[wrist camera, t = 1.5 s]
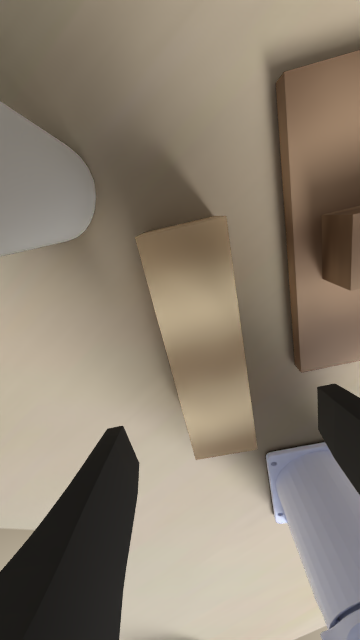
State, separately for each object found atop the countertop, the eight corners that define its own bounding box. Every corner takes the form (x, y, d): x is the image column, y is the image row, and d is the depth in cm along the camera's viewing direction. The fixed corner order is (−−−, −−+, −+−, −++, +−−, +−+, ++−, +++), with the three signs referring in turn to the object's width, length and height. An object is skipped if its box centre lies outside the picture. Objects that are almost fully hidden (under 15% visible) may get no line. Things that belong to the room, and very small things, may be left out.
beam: (241, 405, 20) (257, 449, 16) (191, 414, 20) (195, 460, 16) (212, 216, 14) (226, 216, 11) (145, 232, 14) (134, 237, 11)
